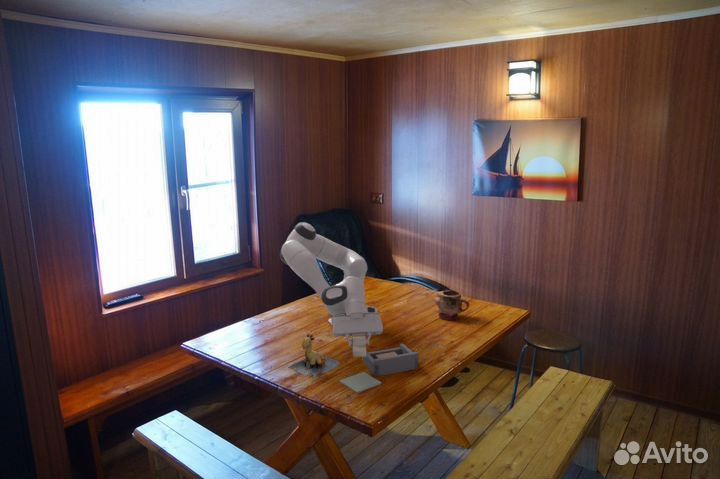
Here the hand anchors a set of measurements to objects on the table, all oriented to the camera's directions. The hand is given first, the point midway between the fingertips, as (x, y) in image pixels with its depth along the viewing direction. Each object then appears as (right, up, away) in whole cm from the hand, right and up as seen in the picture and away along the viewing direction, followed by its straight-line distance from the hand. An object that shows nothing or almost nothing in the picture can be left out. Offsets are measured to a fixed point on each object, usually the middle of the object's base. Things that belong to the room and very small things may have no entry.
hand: (359, 345), depth 209 cm
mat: (+1, -16, +4) cm, 17 cm away
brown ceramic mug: (+49, 0, +73) cm, 88 cm away
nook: (+13, -12, +20) cm, 27 cm away
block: (0, -4, +1) cm, 4 cm away
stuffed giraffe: (-19, -14, +20) cm, 31 cm away
